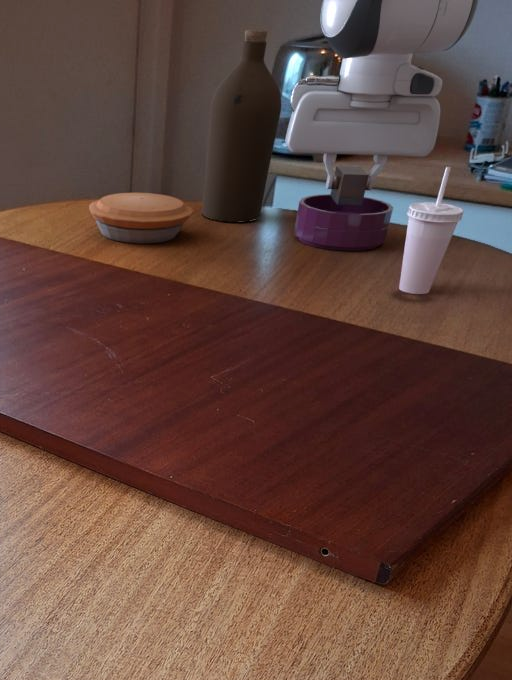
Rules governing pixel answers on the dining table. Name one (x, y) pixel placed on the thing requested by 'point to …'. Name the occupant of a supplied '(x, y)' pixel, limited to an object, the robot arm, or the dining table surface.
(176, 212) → the pie
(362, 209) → the bowl
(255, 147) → the olive oil
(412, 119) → the robot arm
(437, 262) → the smoothie
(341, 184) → the eraser
